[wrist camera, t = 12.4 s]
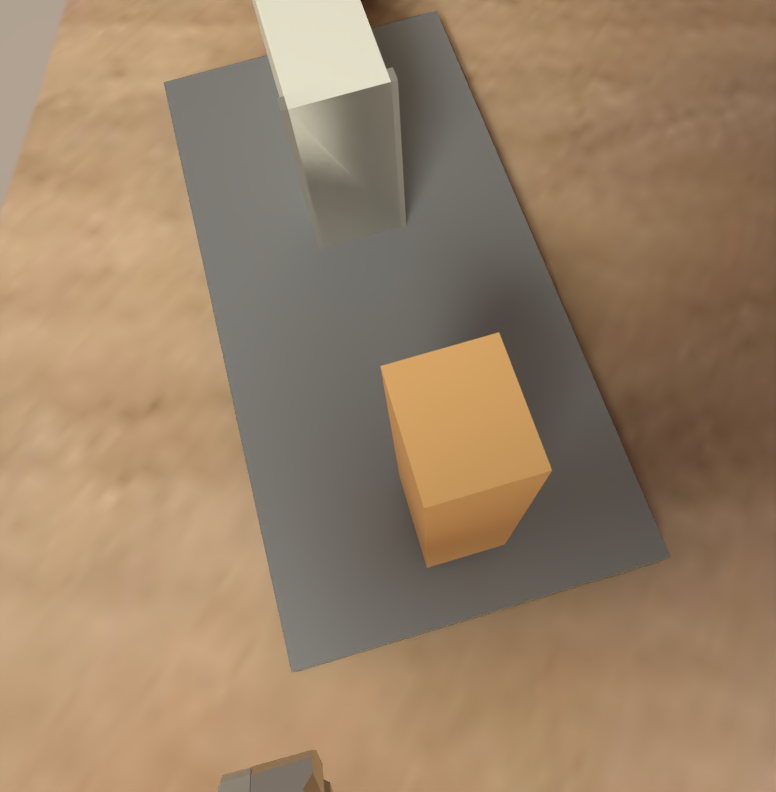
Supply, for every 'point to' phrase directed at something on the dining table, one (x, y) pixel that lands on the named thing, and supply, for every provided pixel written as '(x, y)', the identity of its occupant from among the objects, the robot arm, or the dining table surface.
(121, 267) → the dining table surface
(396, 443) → the tan wooden beam
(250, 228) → the grey base plate
